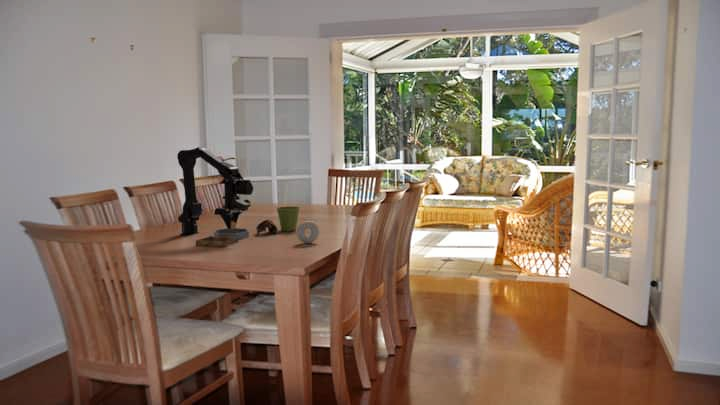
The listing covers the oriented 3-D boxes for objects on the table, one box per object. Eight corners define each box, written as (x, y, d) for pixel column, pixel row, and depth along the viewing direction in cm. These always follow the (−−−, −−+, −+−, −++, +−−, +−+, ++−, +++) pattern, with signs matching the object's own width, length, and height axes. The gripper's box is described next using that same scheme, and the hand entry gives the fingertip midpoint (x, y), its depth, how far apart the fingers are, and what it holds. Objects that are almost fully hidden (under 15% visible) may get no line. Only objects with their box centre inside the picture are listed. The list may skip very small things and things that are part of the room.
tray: (196, 245, 255) (195, 240, 255) (210, 241, 266) (210, 236, 265) (224, 247, 251) (224, 242, 251) (238, 242, 261) (238, 238, 261)
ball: (225, 230, 271) (225, 221, 271) (230, 228, 275) (230, 220, 274) (233, 230, 270) (233, 221, 269) (237, 229, 274) (237, 220, 273)
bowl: (207, 239, 268) (207, 232, 268) (226, 234, 283) (225, 227, 282) (237, 242, 263) (237, 234, 263) (254, 236, 278) (254, 229, 277)
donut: (297, 244, 257) (297, 221, 256) (295, 243, 260) (295, 220, 259) (320, 243, 261) (319, 220, 260) (317, 241, 264) (317, 219, 263)
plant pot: (297, 227, 302) (297, 205, 300) (302, 231, 291) (302, 208, 289) (274, 229, 298) (273, 206, 297) (278, 232, 287) (278, 209, 286)
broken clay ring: (278, 237, 277) (269, 223, 274) (261, 246, 279) (251, 231, 276) (282, 227, 288) (274, 213, 285) (266, 235, 290) (257, 221, 287)
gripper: (235, 196, 259) (236, 232, 261) (256, 192, 277) (257, 226, 278) (213, 195, 263) (214, 231, 265) (235, 191, 280) (236, 224, 282)
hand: (231, 228), depth 272 cm, fingers closed on ball, 4 cm apart
